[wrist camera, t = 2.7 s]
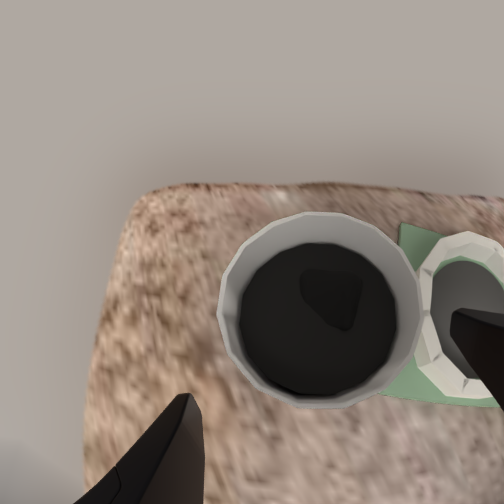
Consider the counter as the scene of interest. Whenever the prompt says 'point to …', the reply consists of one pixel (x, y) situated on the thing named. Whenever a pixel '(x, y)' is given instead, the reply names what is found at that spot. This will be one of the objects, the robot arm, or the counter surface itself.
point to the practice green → (448, 313)
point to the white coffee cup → (320, 310)
